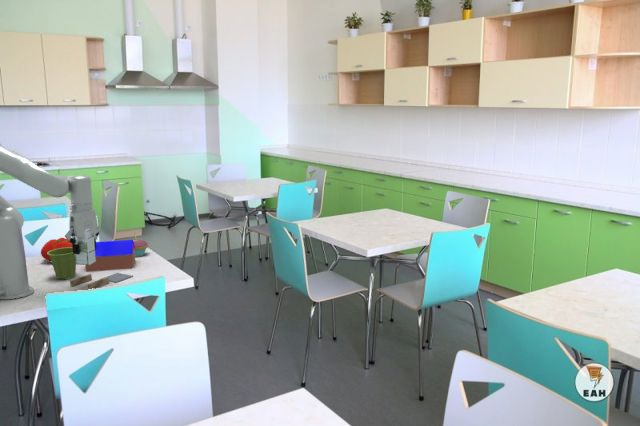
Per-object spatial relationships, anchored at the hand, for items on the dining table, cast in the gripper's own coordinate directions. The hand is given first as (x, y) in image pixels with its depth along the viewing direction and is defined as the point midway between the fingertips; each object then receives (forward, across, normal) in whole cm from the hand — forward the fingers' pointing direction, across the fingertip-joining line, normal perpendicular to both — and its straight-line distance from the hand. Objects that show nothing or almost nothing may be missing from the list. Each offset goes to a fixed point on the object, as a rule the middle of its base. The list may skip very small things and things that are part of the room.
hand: (84, 251), depth 215 cm
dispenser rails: (+14, +1, -1) cm, 14 cm away
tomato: (+15, +20, +40) cm, 47 cm away
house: (+14, +23, +12) cm, 30 cm away
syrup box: (+5, 0, 0) cm, 5 cm away
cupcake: (+14, +42, +14) cm, 47 cm away
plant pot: (+14, +4, +17) cm, 23 cm away
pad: (+14, +12, -4) cm, 18 cm away
